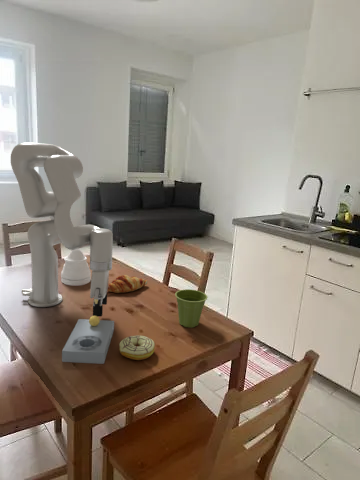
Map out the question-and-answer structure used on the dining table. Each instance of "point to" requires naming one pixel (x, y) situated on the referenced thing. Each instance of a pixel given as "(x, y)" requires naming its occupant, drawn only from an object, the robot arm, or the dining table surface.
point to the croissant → (126, 284)
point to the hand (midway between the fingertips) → (100, 309)
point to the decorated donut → (137, 347)
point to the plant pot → (190, 306)
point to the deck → (88, 342)
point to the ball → (94, 320)
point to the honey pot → (75, 269)
